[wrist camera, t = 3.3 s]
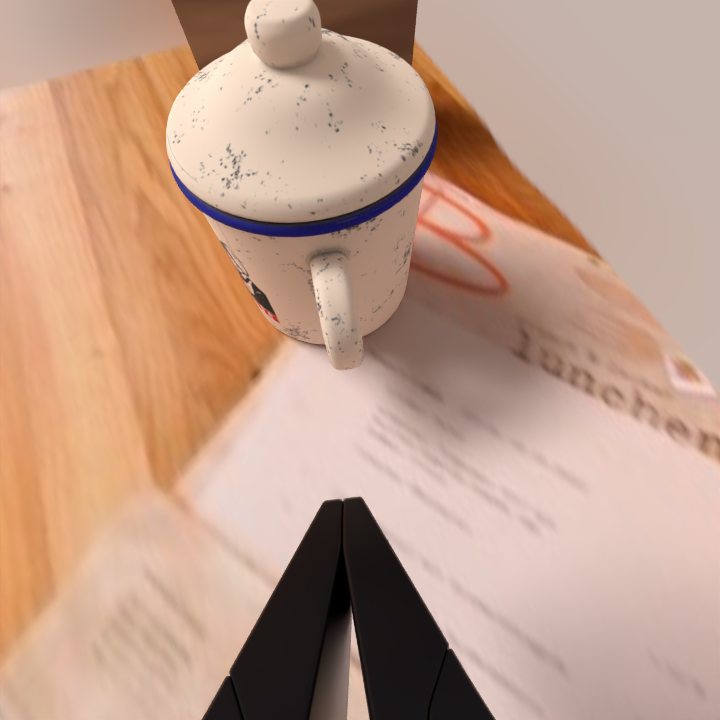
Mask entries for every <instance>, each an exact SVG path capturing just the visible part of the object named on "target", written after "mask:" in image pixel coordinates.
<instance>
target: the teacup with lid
mask: <svg viewBox="0 0 720 720" xmlns="http://www.w3.org/2000/svg"><path fill="white" fill-rule="evenodd" d="M245 29H246V33H247V37H248V39H246V40H245V41H243V42H242V43H241V44H239V45H238V46H237V47H236V48H235V49H233V50H232V51H231V52H229V53H227V54H225V55H223V56H221V57H220V58H218V59H216V60H214V61H213V62H211V63H210V64H208V65H207V66H206V67H204V68H203V69H202V70H201V71H199V72H198V73H197V74H196V75H195V76H194V77H193V78H192V79H191V80H190V81H189V82H188V83H187V84H186V85H185V87H184V88H183V89H182V91H181V92H180V93H179V95H178V97H177V98H176V100H175V102H174V104H173V106H172V109H171V111H170V114H169V118H168V122H167V130H166V146H167V152H168V157H169V161H170V167H171V170H172V173H173V176H174V179H175V180H176V182H177V184H178V186H179V188H180V189H181V191H182V192H183V193H184V195H185V196H186V197H187V198H188V199H189V201H190V202H191V203H192V204H193V205H194V206H196V207H197V208H198V209H199V210H201V211H202V212H203V213H204V215H205V217H206V218H207V220H208V222H209V224H210V225H211V227H212V229H213V230H214V232H215V234H216V235H217V237H218V239H219V241H220V242H221V244H222V246H223V247H224V249H225V251H226V252H227V254H228V256H229V258H230V259H231V261H232V263H233V264H234V266H235V268H236V269H237V271H238V273H239V275H240V276H241V278H242V280H243V281H244V283H245V285H246V286H247V288H248V290H249V292H250V293H251V295H252V297H253V298H254V300H255V302H256V303H257V305H258V307H259V309H260V310H261V312H262V313H263V315H264V316H265V317H266V319H267V320H268V321H269V322H270V323H271V324H272V325H273V326H274V327H276V328H277V329H278V330H280V331H281V332H283V333H284V334H286V335H288V336H290V337H292V338H295V339H297V340H301V341H304V342H308V343H314V344H325V345H326V349H327V353H328V356H329V359H330V362H331V364H332V365H333V367H334V368H336V369H338V370H347V369H352V368H356V367H358V366H359V365H360V364H361V363H362V361H363V356H364V351H363V340H362V337H363V336H366V335H367V334H369V333H371V332H373V331H374V330H376V329H377V328H379V327H380V326H381V325H383V324H384V323H385V322H386V321H387V320H388V319H389V318H390V317H391V316H392V315H393V313H394V312H395V311H396V309H397V308H398V306H399V304H400V302H401V300H402V298H403V296H404V293H405V289H406V285H407V279H408V273H409V267H410V260H411V254H412V248H413V242H414V235H415V229H416V223H417V217H418V210H419V204H420V198H421V191H422V185H423V179H424V175H425V173H426V171H427V170H428V168H429V166H430V164H431V161H432V159H433V156H434V153H435V149H436V145H437V122H436V117H435V110H434V105H433V102H432V99H431V96H430V94H429V91H428V89H427V87H426V85H425V83H424V81H423V80H422V79H421V77H420V76H419V74H418V73H417V72H416V71H415V70H414V69H413V68H412V67H411V66H410V65H409V64H408V63H407V62H406V61H405V60H403V59H402V58H400V57H399V56H398V55H396V54H395V53H393V52H391V51H389V50H388V49H386V48H384V47H381V46H379V45H377V44H374V43H372V42H369V41H366V40H362V39H359V38H354V37H350V36H344V35H340V34H338V33H335V32H333V31H330V30H327V29H324V28H321V19H320V14H319V11H318V8H317V6H316V5H315V3H314V2H313V0H251V1H250V3H249V5H248V7H247V9H246V13H245Z"/></svg>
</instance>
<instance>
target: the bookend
mask: <svg viewBox="0 0 720 720" xmlns="http://www.w3.org/2000/svg"><path fill="white" fill-rule="evenodd" d="M250 1H251V0H172V3H173V6H174V8H175V11H176V13H177V15H178V18H179V20H180V23H181V25H182V28H183V30H184V33H185V35H186V38H187V40H188V43H189V45H190V48H191V50H192V53H193V55H194V58H195V60H196V63H197V65H198V68H199V70H200V71H201V70H202V69H203V68H204V67H206V66H207V65H208V64H210V63H211V62H213V61H214V60H216V59H218V58H220V57H221V56H223V55H225V54H227V53H229V52H231V51H232V50H233V49H235V48H236V47H237V46H238V45H239V44H241V43H242V42H243V41H245V40H246V39H248V37H247V33H246V29H245V13H246V9H247V7H248V5H249V3H250ZM313 2H314V3H315V5H316V6H317V8H318V11H319V14H320V19H321V28H324V29H327V30H330V31H333V32H335V33H338V34H340V35H344V36H350V37H354V38H359V39H362V40H366V41H369V42H372V43H374V44H377V45H379V46H381V47H384V48H386V49H388V50H389V51H391V52H393V53H395V54H396V55H398V56H399V57H400V58H402V59H403V60H405V61H406V62H407V63H408V64H409V65H410V66H411V67H412V58H413V47H414V36H415V25H416V14H417V3H418V0H313Z"/></svg>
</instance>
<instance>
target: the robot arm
mask: <svg viewBox="0 0 720 720" xmlns="http://www.w3.org/2000/svg"><path fill="white" fill-rule="evenodd" d="M352 614H353V620H354V627H355V633H356V639H357V645H358V651H359V657H360V664H361V670H362V676H363V682H364V688H365V694H366V700H367V707H368V713H369V719H370V720H496V719H495V718H494V716H493V715H492V713H491V712H490V710H489V708H488V707H487V705H486V704H485V702H484V700H483V699H482V697H481V696H480V694H479V692H478V691H477V689H476V688H475V686H474V684H473V683H472V681H471V680H470V678H469V677H468V675H467V673H466V672H465V670H464V668H463V667H462V665H461V663H460V661H459V660H458V658H457V656H456V655H455V653H454V651H453V650H452V649H449V643H448V642H447V640H446V638H445V637H444V635H443V633H442V631H441V630H440V628H439V626H438V625H437V623H436V621H435V620H434V618H433V616H432V615H431V613H430V611H429V609H428V608H427V606H426V604H425V603H424V601H423V599H422V598H421V596H420V594H419V593H418V591H417V589H416V588H415V586H414V584H413V582H412V581H411V579H410V577H409V576H408V574H407V572H406V571H405V569H404V567H403V566H402V564H401V562H400V560H399V559H398V557H397V555H396V554H395V552H394V550H393V549H392V547H391V545H390V544H389V542H388V540H387V538H386V537H385V535H384V533H383V532H382V530H381V528H380V527H379V525H378V523H377V522H376V520H375V518H374V516H373V515H372V513H371V511H370V510H369V508H368V506H367V505H366V503H365V501H364V500H363V498H362V497H351V498H345V499H344V500H343V501H342V500H341V499H334V500H326V501H324V502H323V503H322V505H321V507H320V509H319V510H318V512H317V514H316V516H315V518H314V519H313V521H312V523H311V525H310V527H309V528H308V530H307V532H306V534H305V536H304V537H303V539H302V541H301V543H300V545H299V546H298V548H297V550H296V552H295V554H294V555H293V557H292V559H291V561H290V563H289V564H288V566H287V568H286V570H285V572H284V573H283V575H282V577H281V579H280V581H279V582H278V584H277V586H276V588H275V590H274V591H273V593H272V595H271V597H270V599H269V600H268V602H267V604H266V606H265V608H264V609H263V611H262V613H261V615H260V617H259V618H258V620H257V622H256V624H255V626H254V627H253V629H252V631H251V633H250V635H249V636H248V638H247V640H246V642H245V644H244V645H243V647H242V649H241V651H240V653H239V654H238V656H237V658H236V660H235V662H234V663H233V665H232V667H231V669H230V671H229V673H230V676H227V677H226V678H225V679H224V681H223V683H222V685H221V686H220V688H219V690H218V692H217V694H216V695H215V697H214V699H213V701H212V703H211V705H210V706H209V708H208V710H207V711H206V713H205V715H204V717H203V718H202V720H347V707H348V686H349V666H350V645H351V622H352Z"/></svg>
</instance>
